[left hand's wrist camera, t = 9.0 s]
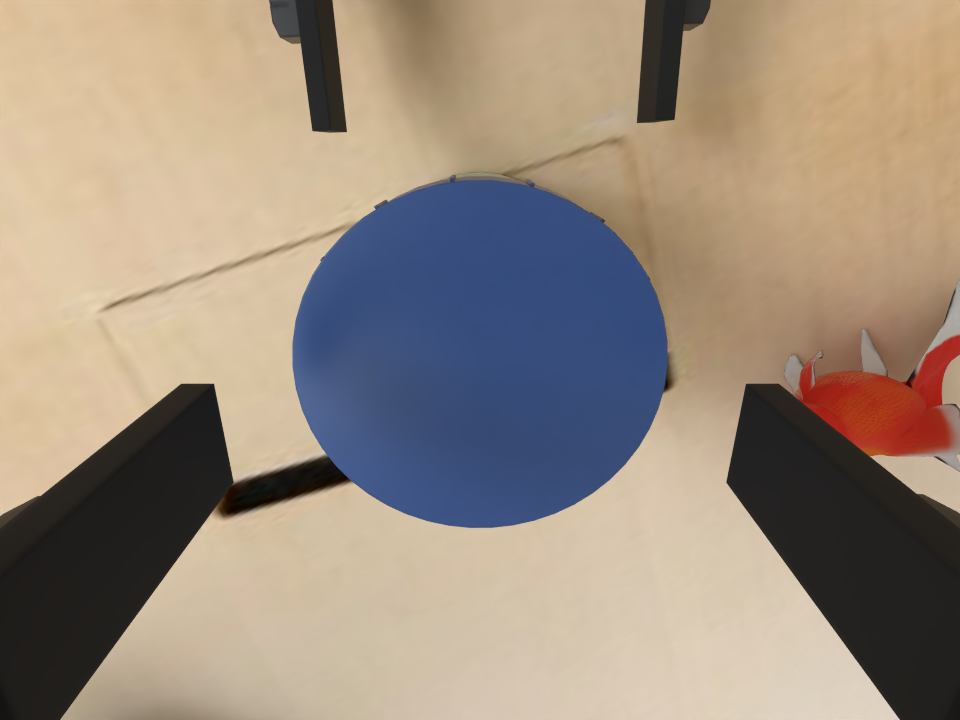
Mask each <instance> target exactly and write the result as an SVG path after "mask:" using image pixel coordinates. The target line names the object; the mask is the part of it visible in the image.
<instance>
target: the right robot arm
mask: <svg viewBox="0 0 960 720" xmlns="http://www.w3.org/2000/svg"><path fill="white" fill-rule="evenodd" d="M710 1H711V0H646V4H645V18H644V32H643V46H642V60H641V73H640V87H639V101H638V115H637V123H650V122H661V121H668V120H674V119H675V109H676V98H677V88H678V77H679V67H680V56H681V46H682V36H683V31H690V30H692V29H694V28H695V27H697V26H699V25H701V24H703V22H704V20H705V17H706V15H707V13H708V11H709V9H710ZM269 2H270V8H271V15H272V22H273V24H274V26H275V28H276V30H277V32H278V34H279V36H280V38H282V39H284V40H286V41H288V42H290V43H291V44H296V43H301V48H302V55H303V63H304V70H305V78H306V86H307V93H308V101H309V108H310V116H311V123H312V131H318V132H329V133H332V132H347V129H346V120H345V111H344V102H343V93H342V84H341V74H340V65H339V56H338V47H337V38H336V29H335V20H334V11H333V2H332V0H269Z"/></svg>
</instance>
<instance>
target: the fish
mask: <svg viewBox="0 0 960 720" xmlns="http://www.w3.org/2000/svg"><path fill="white" fill-rule="evenodd" d="M958 355H960V280H958V283H957V285H956V288H955V291H954V293H953V296H952V299H951V302H950V306H949V309H948V312H947V315H946V318H945V321H944V324H943V326H942V327H941V329H940V330H939V332H938V334H937V335H936V337H935V339H934V340H933V342H932V343H931V345H930V346H929V348H928V350H927V351H926V353H925V354H924V356H923V357H922V359H921V360H920V362H919V363H918V365H917V367H916V368H915V370H914V371H913V373H912V374H911V376H910V377H909V379H908V380H907V381H906V382H902V383H901V382H898V381H896V380H894V379H891V378H889V377H888V371H887V368H886V366H885V364H884V362H883V360H882V359H881V357H880V355H879V354H878V352H877V350H876V348H875V346H874V344H873V342H872V340H871V338H870V336H869V334H868V332H867V330H865V329H862V342H861V356H862V364H863V371H845V372H834V373H828V374H825V375H822V376H819V377H816V378H815V372H814V364H815V361H816V360H817V359H818V358H822V357H823V352H822V350H821V351H819V352H818V353H817V354H816V355H815V356H814V357H812V358H811V359H810V360H809V361H808V362H807V363H806V364H805V366H804V365H803V364H802V363H801V361H800V360H799V358H798V357H797V356H796V355H792V356H790V357H789V360H788V362H787V365H786V368H785V371H784V376H785V379H786V380H787V382H788V383H789V384H790V385H791V387H792V389H793V393H794V394H793V396H794V397H796V398H797V399H798V400H799V401H801V402H802V403H803V404H804V405H806V406H807V407H808V408H810V409H811V410H812V411H813V412H815V413H816V414H817V415H818V416H820V417H821V418H822V419H823V420H825V421H826V422H827V423H828V424H830V425H831V426H832V427H833V428H835V429H836V430H837V431H838V432H840V433H841V434H842V435H843V436H845V437H846V438H847V439H848V440H850V441H851V442H852V443H853V444H855V445H856V446H857V447H858V448H860V449H861V450H862V451H863V452H865V453H866V454H867V455H868V456H873V455H885V456H903V457H921V456H934V457H935V458H937V459H939V460H940V461H942V462H944V463H946V464H947V465H949V466H951V467H952V468H954V469H956V470H957V471H959V472H960V463H959V461H958V458H957V456H956V455H958V454H960V409H959V408H958V407H957V405H955V404H945V405H942V381H943V376H944V372H945V370H946V368H947V366H948V364H949V363H950V362H951V360H953V359H954V358H956V357H957V356H958Z"/></svg>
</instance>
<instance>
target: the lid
mask: <svg viewBox="0 0 960 720" xmlns="http://www.w3.org/2000/svg"><path fill="white" fill-rule="evenodd" d="M374 207H375V209H376V210H375V211H373V212H371V213H370V214H368V215H367V216H365V217H363V218H362V219H361V220H360V221H359V222H358V223H356V224H355V225H354V226H353V227H352V228H350V229H349V230H348V231H347V232H346V233H345V234H343V236H342V237H341V238H340V239H339V240H338V241H337V242H336V243H335V245H334V246H333V247H332V248H331V249H330V250H329V251H328V253H327V254H326V255H325V256H324V257H323V258H322V259H321V260H320V261H321V263H320V264H319V266H318V267H317V269H316V271H315V272H314V274H313V275H312V277H311V280H310V282H309V284H308V286H307V288H306V291H305V293H304V295H303V297H302V301H301V304H300V307H299V311H298V314H297V318H296V322H295V329H294V336H293V371H294V378H295V385H296V390H297V394H298V397H299V401H300V404H301V407H302V411H303V413H304V415H305V417H306V420H307V422H308V424H309V426H310V429H311V431H312V432H313V434H314V436H315V437H316V439H317V440H318V442H319V444H320V445H321V447H322V449H323V450H324V451H325V452H326V454H327V455H328V456H329V457H330V459H331V460H332V461H333V462H334V464H335V465H336V466H337V467H338V468H339V469H340V470H341V471H342V472H343V473H344V474H345V475H346V476H347V477H348V478H349V479H350V480H351V481H352V482H354V483H355V484H356V485H358V486H359V487H360V488H361V489H363V490H364V491H365V492H367V493H368V494H369V495H371V496H373V497H374V498H376V499H378V500H379V501H381V502H383V503H384V504H386V505H388V506H390V507H392V508H394V509H397V510H399V511H401V512H403V513H405V514H408V515H411V516H414V517H417V518H420V519H423V520H426V521H430V522H435V523H439V524H444V525H449V526H458V527H468V528H493V527H502V526H511V525H516V524H521V523H525V522H530V521H534V520H537V519H540V518H543V517H546V516H549V515H552V514H555V513H557V512H559V511H561V510H563V509H566V508H568V507H570V506H572V505H574V504H576V503H577V502H579V501H581V500H582V499H584V498H586V497H587V496H589V495H590V494H592V493H594V492H595V491H596V490H597V489H599V488H600V487H601V486H602V485H604V484H605V483H606V482H608V481H609V480H610V479H611V478H612V477H613V476H614V475H615V474H616V473H617V472H618V471H619V470H620V469H621V468H622V467H623V466H624V465H625V464H626V463H627V461H628V460H629V459H630V458H631V456H632V455H633V454H634V452H635V451H636V450H637V449H638V447H639V446H640V444H641V442H642V441H643V439H644V437H645V436H646V434H647V432H648V430H649V429H650V427H651V424H652V422H653V420H654V417H655V415H656V413H657V410H658V408H659V404H660V401H661V397H662V394H663V390H664V386H665V379H666V371H667V364H668V362H667V336H666V329H665V323H664V317H663V314H662V310H661V307H660V304H659V301H658V297H657V294H656V292H655V290H654V288H653V286H652V284H651V282H650V278H649V277H648V276H647V273H646V272H645V270H644V269H643V267H642V266H641V264H640V263H639V261H638V260H637V258H636V257H635V255H634V254H633V252H632V251H631V250H630V249H629V248H628V247H627V246H626V245H625V243H624V242H623V241H622V240H621V239H620V238H619V237H618V236H617V235H616V233H614V232H613V231H612V230H611V229H610V228H608V227H607V226H606V225H605V224H604V222H605V220H603V219H602V218H600V217H599V216H597V215H595V214H594V213H592V212H591V213H589V212H587V211H586V210H584V209H582V208H581V207H579V206H577V205H576V204H574V203H573V202H571V201H569V200H568V199H566V198H564V197H563V196H561V195H559V194H556V193H554V192H552V191H550V190H547V189H545V188H543V187H540V186H538V185H535V183H533V182H532V181H530V180H528V179H527V180H526V182H523V181H519V180H516V179H509V178H501V177H494V176H465V177H459V178H456V175H452V176H451V177H450V178H449V179H445V180H440V181H437V182H433V183H430V184H426V185H423V186H420V187H417V188H415V189H413V190H410V191H408V192H406V193H404V194H402V195H399V196H397V197H395V198H394V199H392V200H391V201H389V202H388V201H387V200H385V201H383V202H381V203H379V204H378V205H376V206H374Z"/></svg>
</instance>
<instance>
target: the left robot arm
mask: <svg viewBox="0 0 960 720" xmlns="http://www.w3.org/2000/svg"><path fill="white" fill-rule="evenodd" d="M233 483H234V482H233V477H232V472H231V467H230V462H229V457H228V452H227V447H226V442H225V437H224V432H223V427H222V422H221V417H220V412H219V407H218V402H217V397H216V392H215V387H214V384H181V385H179V386H178V387H177V388H176V389H174V390H173V391H172V392H171V393H169V394H168V395H167V396H166V397H164V398H163V399H162V400H161V401H159V402H158V403H157V404H155V405H154V406H153V407H152V408H150V409H149V410H148V411H147V412H145V413H144V414H143V415H142V416H140V417H139V418H138V419H137V420H135V421H134V422H133V423H132V424H130V425H129V426H128V427H127V428H125V429H124V430H123V431H122V432H120V433H119V434H118V435H117V436H115V437H114V438H113V439H112V440H110V441H109V442H108V443H107V444H105V445H104V446H103V447H102V448H100V449H99V450H98V451H97V452H95V453H94V454H93V455H92V456H90V457H89V458H88V459H87V460H85V461H84V462H83V463H82V464H80V465H79V466H78V467H77V468H75V469H74V470H73V471H72V472H70V473H69V474H68V475H67V476H65V477H64V478H63V479H62V480H60V481H59V482H58V483H56V484H55V485H54V486H53V487H51V488H50V489H49V490H48V491H46V492H45V493H44V494H43V495H41V496H37V497H35V498H33V499H31V500H29V501H27V502H25V503H24V504H22V505H20V506H18V507H16V508H14V509H12V510H10V511H8V512H6V513H4V514H3V515H1V516H0V720H60V719H61V718H62V716H63V715H64V714H65V712H66V711H67V710H68V708H69V707H70V705H71V704H72V703H73V701H74V700H75V699H76V697H77V696H78V695H79V693H80V692H81V690H82V689H83V688H84V686H85V685H86V684H87V682H88V681H89V679H90V678H91V677H92V675H93V674H94V673H95V671H96V670H97V669H98V667H99V666H100V664H101V663H102V662H103V660H104V659H105V658H106V656H107V655H108V654H109V652H110V651H111V649H112V648H113V647H114V645H115V644H116V643H117V641H118V640H119V638H120V637H121V636H122V634H123V633H124V632H125V630H126V629H127V628H128V626H129V625H130V623H131V622H132V621H133V619H134V618H135V617H136V615H137V614H138V612H139V611H140V610H141V608H142V607H143V606H144V604H145V603H146V602H147V600H148V599H149V597H150V596H151V595H152V593H153V592H154V591H155V589H156V588H157V587H158V585H159V584H160V582H161V581H162V580H163V578H164V577H165V576H166V574H167V573H168V571H169V570H170V569H171V567H172V566H173V565H174V563H175V562H176V561H177V559H178V558H179V556H180V555H181V554H182V552H183V551H184V550H185V548H186V547H187V545H188V544H189V543H190V541H191V540H192V539H193V537H194V536H195V535H196V533H197V532H198V530H199V529H200V528H201V526H202V525H203V524H204V522H205V521H206V520H207V518H208V517H209V515H210V514H211V513H212V511H213V510H214V509H215V507H216V506H217V504H218V503H219V502H220V500H221V499H222V498H223V496H224V495H225V494H226V492H227V491H228V489H229V488H230V487H231V485H232V484H233ZM726 483H727V484H728V485H729V487H730V488H731V489H732V491H733V492H734V494H735V495H736V496H737V498H738V499H739V500H740V502H741V503H742V504H743V506H744V507H745V509H746V510H747V511H748V513H749V514H750V515H751V517H752V518H753V520H754V521H755V522H756V524H757V525H758V526H759V528H760V529H761V530H762V532H763V533H764V535H765V536H766V537H767V539H768V540H769V541H770V543H771V544H772V545H773V547H774V548H775V550H776V551H777V552H778V554H779V555H780V556H781V558H782V559H783V561H784V562H785V563H786V565H787V566H788V567H789V569H790V570H791V571H792V573H793V574H794V576H795V577H796V578H797V580H798V581H799V582H800V584H801V585H802V587H803V588H804V589H805V591H806V592H807V593H808V595H809V596H810V597H811V599H812V600H813V602H814V603H815V604H816V606H817V607H818V608H819V610H820V611H821V612H822V614H823V615H824V617H825V618H826V619H827V621H828V622H829V623H830V625H831V626H832V628H833V629H834V630H835V632H836V633H837V634H838V636H839V637H840V638H841V640H842V641H843V643H844V644H845V645H846V647H847V648H848V649H849V651H850V652H851V654H852V655H853V656H854V658H855V659H856V660H857V662H858V663H859V664H860V666H861V667H862V669H863V670H864V671H865V673H866V674H867V675H868V677H869V678H870V679H871V681H872V682H873V684H874V685H875V686H876V688H877V689H878V690H879V692H880V693H881V695H882V696H883V697H884V699H885V700H886V701H887V703H888V704H889V705H890V707H891V708H892V710H893V711H894V712H895V714H896V715H897V716H898V718H899V719H900V720H960V514H959V513H958V512H956V511H954V510H952V509H951V508H949V507H947V506H945V505H943V504H941V503H939V502H937V501H935V500H933V499H931V498H929V497H927V496H925V495H923V494H916V493H915V492H914V491H912V490H911V489H910V488H909V487H907V486H906V485H905V484H903V483H902V482H901V481H900V480H898V479H897V478H896V477H895V476H893V475H892V474H891V473H890V472H888V471H887V470H886V469H885V468H883V467H882V466H881V465H880V464H878V463H877V462H876V461H875V460H873V459H872V458H871V457H870V456H868V455H867V454H866V453H865V452H863V451H862V450H861V449H860V448H858V447H857V446H856V445H855V444H853V443H852V442H851V441H850V440H848V439H847V438H846V437H845V436H843V435H842V434H841V433H840V432H838V431H837V430H836V429H835V428H833V427H832V426H831V425H830V424H828V423H827V422H826V421H825V420H823V419H822V418H821V417H820V416H818V415H817V414H816V413H815V412H813V411H812V410H811V409H810V408H808V407H807V406H806V405H804V404H803V403H802V402H801V401H799V400H798V399H797V398H796V397H794V396H793V395H792V394H791V393H789V392H788V391H787V390H786V389H784V388H783V387H782V386H781V385H779V384H746V387H745V392H744V397H743V402H742V407H741V412H740V417H739V422H738V427H737V432H736V437H735V442H734V447H733V452H732V457H731V462H730V467H729V472H728V477H727V482H726Z"/></svg>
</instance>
